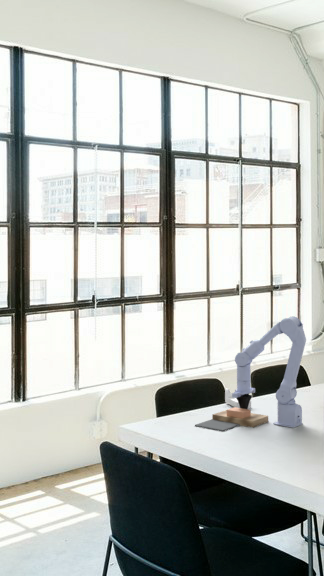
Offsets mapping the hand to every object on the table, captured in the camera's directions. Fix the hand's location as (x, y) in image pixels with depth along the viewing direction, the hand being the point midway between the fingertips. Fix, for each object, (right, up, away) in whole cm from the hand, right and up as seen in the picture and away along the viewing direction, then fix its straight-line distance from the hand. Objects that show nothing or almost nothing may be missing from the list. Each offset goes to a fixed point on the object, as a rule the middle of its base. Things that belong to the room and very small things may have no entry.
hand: (243, 412), depth 286 cm
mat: (-12, -4, -10) cm, 16 cm away
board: (-2, -3, -2) cm, 4 cm away
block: (-3, -1, -3) cm, 4 cm away
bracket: (0, -3, +27) cm, 27 cm away
